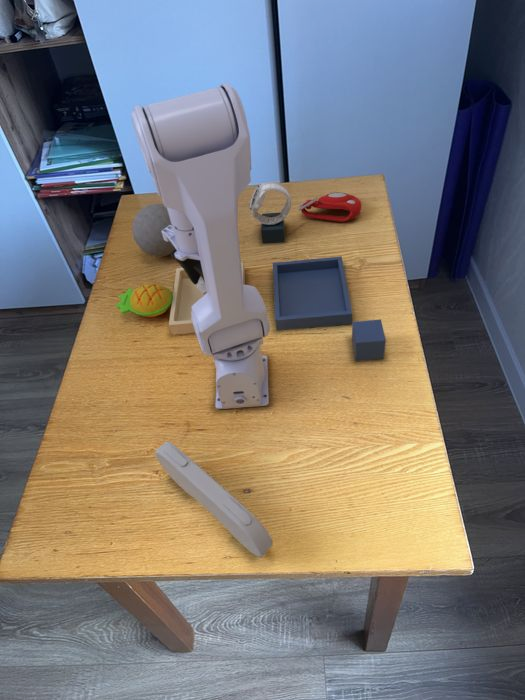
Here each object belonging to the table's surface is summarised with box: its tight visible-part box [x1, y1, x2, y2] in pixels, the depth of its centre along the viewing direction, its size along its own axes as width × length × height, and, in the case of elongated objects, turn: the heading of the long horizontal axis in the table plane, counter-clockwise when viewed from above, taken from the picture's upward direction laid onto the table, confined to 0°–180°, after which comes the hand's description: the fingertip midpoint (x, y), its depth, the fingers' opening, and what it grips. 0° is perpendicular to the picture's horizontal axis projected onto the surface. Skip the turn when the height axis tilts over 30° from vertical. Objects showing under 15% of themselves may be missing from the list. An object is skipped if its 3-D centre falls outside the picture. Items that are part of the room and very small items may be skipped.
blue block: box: [351, 318, 387, 362], centre depth 80 cm, size 4×4×4 cm
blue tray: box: [272, 256, 353, 331], centre depth 89 cm, size 15×13×2 cm
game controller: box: [154, 441, 274, 558], centre depth 64 cm, size 20×2×8 cm, turn 47°
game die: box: [197, 276, 207, 295], centre depth 89 cm, size 4×4×3 cm
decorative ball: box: [131, 203, 175, 257], centre depth 99 cm, size 10×10×10 cm
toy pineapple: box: [115, 283, 173, 318], centre depth 90 cm, size 7×10×5 cm
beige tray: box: [168, 261, 246, 336], centre depth 91 cm, size 15×13×2 cm
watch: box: [249, 181, 292, 244], centre depth 99 cm, size 6×8×11 cm
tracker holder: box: [298, 191, 362, 223], centre depth 104 cm, size 12×4×10 cm
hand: (206, 285), depth 89 cm, fingers closed on game die, 3 cm apart
